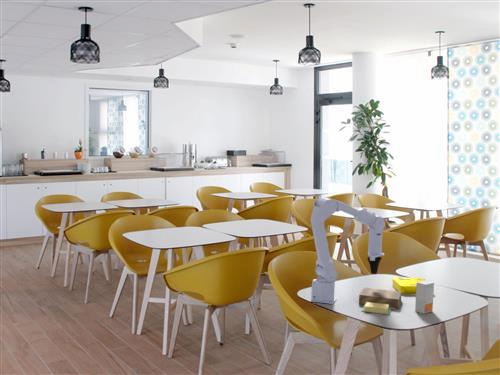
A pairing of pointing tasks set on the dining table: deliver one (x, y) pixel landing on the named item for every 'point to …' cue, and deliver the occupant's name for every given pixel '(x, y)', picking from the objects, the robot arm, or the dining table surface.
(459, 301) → the dining table surface
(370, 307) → the yellow block
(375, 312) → the mat
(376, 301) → the plate
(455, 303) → the dining table surface
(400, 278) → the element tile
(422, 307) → the skincare box
